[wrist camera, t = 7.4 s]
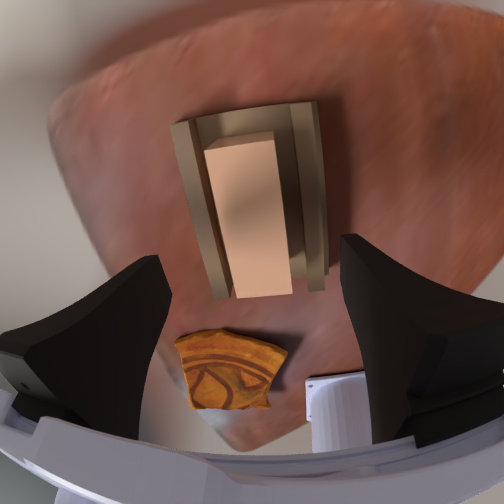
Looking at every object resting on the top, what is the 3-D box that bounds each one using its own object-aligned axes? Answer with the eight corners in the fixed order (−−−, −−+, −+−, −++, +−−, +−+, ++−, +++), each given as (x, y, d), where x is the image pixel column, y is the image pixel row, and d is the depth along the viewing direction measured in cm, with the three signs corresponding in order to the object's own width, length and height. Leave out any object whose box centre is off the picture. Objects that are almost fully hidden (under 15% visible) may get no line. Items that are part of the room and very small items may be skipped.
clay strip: (289, 258, 18) (292, 293, 15) (243, 263, 19) (237, 298, 16) (273, 130, 14) (274, 139, 11) (218, 138, 15) (203, 150, 12)
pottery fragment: (187, 411, 26) (157, 370, 20) (193, 374, 30) (168, 323, 24) (285, 414, 26) (290, 374, 19) (284, 376, 29) (288, 324, 23)
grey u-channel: (327, 268, 20) (332, 289, 18) (213, 279, 21) (207, 300, 19) (314, 100, 14) (321, 101, 12) (174, 122, 15) (160, 127, 13)
